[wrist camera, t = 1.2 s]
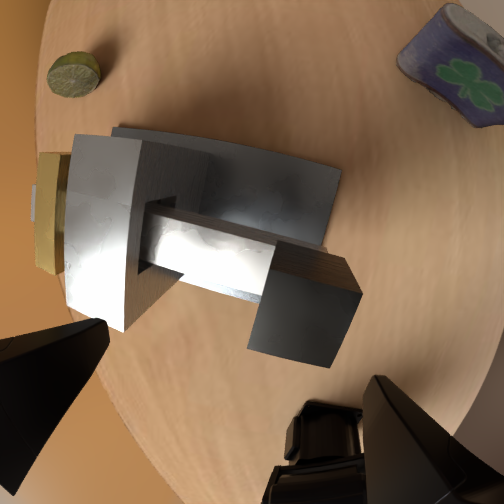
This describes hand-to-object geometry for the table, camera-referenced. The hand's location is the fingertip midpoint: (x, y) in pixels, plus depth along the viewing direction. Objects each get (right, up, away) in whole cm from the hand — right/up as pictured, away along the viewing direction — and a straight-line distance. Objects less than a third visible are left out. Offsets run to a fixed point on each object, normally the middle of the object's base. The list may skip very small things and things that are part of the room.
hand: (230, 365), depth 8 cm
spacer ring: (-10, +6, +7) cm, 14 cm away
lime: (-14, +19, +11) cm, 26 cm away
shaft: (-4, +5, +7) cm, 10 cm away
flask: (+16, +16, +7) cm, 24 cm away
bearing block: (-3, +6, +13) cm, 14 cm away
